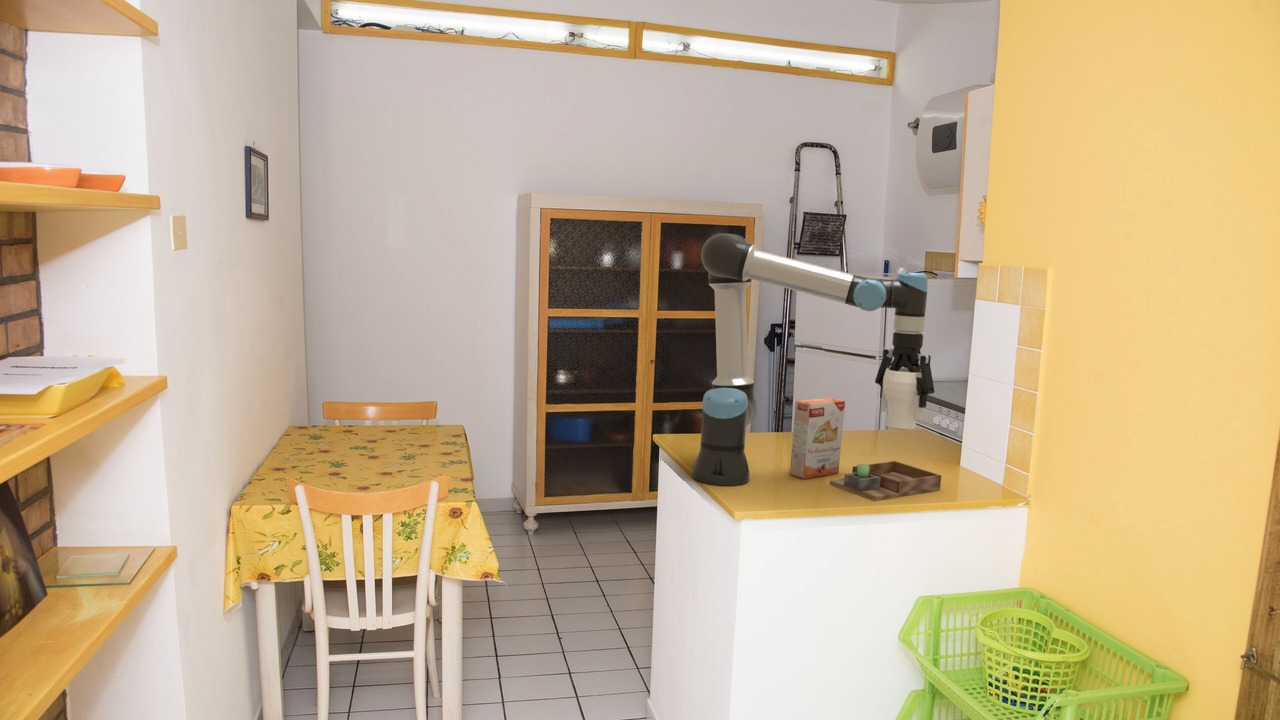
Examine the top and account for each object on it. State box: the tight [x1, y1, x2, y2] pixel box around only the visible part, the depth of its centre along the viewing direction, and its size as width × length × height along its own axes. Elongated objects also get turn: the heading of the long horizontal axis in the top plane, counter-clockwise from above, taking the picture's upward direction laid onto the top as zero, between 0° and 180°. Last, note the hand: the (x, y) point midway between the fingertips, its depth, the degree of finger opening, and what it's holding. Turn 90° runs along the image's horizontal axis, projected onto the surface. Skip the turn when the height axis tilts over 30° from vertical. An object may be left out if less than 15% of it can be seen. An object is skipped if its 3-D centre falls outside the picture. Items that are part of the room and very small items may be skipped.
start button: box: [856, 463, 869, 478], centre depth 219 cm, size 3×3×4 cm
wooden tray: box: [829, 460, 942, 502], centre depth 224 cm, size 24×16×4 cm, turn 121°
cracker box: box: [789, 397, 846, 480], centre depth 232 cm, size 14×6×21 cm, turn 125°
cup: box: [883, 367, 922, 430], centre depth 223 cm, size 11×11×15 cm
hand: (901, 415), depth 223 cm, fingers closed on cup, 11 cm apart
